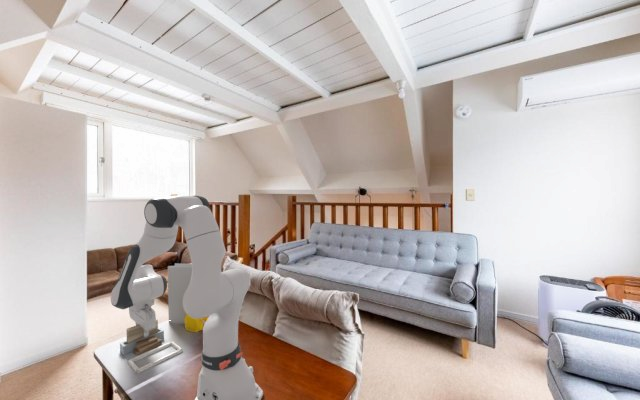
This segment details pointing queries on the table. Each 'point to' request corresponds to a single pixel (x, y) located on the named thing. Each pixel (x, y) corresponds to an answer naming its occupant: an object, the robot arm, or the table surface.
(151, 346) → the offcut
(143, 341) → the offcut
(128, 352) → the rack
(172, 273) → the grey tall block
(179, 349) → the tray
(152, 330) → the maple sheet
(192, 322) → the figure statuette
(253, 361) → the table surface
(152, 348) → the offcut
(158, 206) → the robot arm
